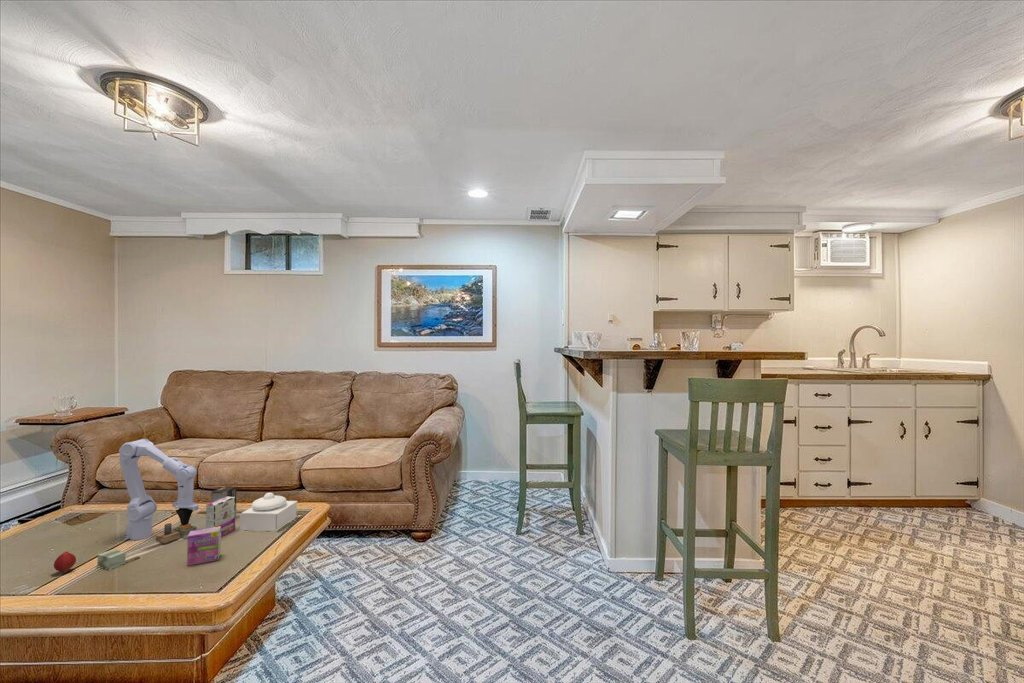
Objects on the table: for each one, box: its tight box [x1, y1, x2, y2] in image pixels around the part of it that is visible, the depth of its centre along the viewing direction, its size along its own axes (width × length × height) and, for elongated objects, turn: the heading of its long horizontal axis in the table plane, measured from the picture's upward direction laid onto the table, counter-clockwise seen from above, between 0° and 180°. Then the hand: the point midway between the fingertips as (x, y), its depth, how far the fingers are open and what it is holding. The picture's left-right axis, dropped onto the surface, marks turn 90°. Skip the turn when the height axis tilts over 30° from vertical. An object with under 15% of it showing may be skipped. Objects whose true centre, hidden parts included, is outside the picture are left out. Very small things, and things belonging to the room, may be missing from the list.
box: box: [186, 526, 222, 567], centre depth 172 cm, size 10×6×12 cm, turn 117°
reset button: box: [178, 522, 192, 530], centre depth 193 cm, size 3×3×4 cm
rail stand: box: [96, 525, 198, 570], centre depth 181 cm, size 8×32×4 cm, turn 160°
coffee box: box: [211, 485, 237, 519], centre depth 213 cm, size 9×6×16 cm
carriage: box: [155, 522, 180, 543], centre depth 187 cm, size 6×6×6 cm
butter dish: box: [239, 492, 298, 531], centre depth 209 cm, size 18×18×16 cm
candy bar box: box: [205, 496, 236, 538], centre depth 195 cm, size 11×5×16 cm, turn 168°
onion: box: [53, 550, 77, 573], centre depth 163 cm, size 6×6×8 cm
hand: (184, 524), depth 193 cm, fingers closed, pressing on reset button
